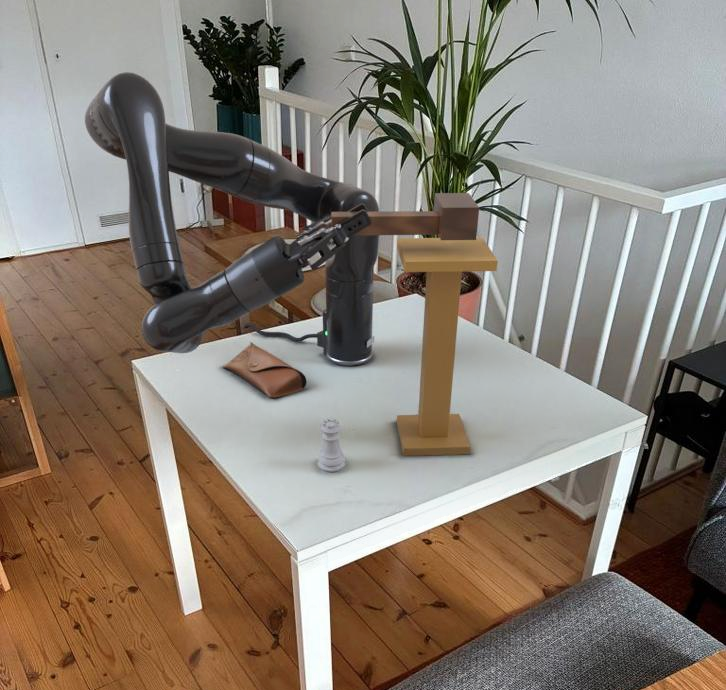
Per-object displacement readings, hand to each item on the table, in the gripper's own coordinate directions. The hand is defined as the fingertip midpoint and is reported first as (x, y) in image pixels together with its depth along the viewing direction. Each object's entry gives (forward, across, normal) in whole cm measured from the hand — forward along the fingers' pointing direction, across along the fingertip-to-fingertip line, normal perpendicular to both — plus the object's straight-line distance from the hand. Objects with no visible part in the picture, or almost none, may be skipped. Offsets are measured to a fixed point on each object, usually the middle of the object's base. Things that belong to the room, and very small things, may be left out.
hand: (367, 212), depth 103 cm
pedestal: (-9, 0, +38) cm, 39 cm away
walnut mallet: (+3, 0, +5) cm, 6 cm away
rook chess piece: (-24, -8, +29) cm, 39 cm away
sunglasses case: (-35, +24, +23) cm, 48 cm away
